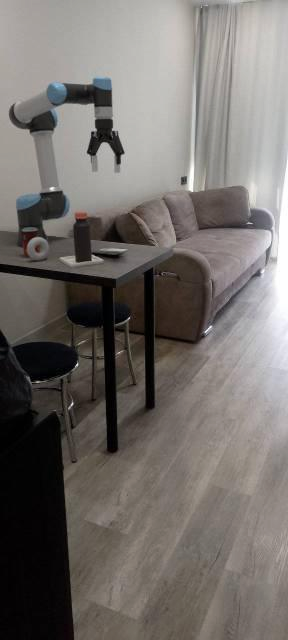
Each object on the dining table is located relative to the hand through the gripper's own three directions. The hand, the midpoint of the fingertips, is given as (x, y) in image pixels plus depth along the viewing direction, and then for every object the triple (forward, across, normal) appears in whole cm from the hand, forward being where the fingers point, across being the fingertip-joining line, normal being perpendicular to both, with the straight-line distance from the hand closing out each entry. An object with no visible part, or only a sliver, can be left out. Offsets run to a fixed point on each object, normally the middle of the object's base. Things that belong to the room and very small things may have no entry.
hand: (106, 172), depth 214 cm
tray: (+35, +4, -21) cm, 41 cm away
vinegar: (+34, +6, -21) cm, 41 cm away
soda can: (+35, -22, -26) cm, 49 cm away
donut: (+35, -13, -29) cm, 47 cm away
